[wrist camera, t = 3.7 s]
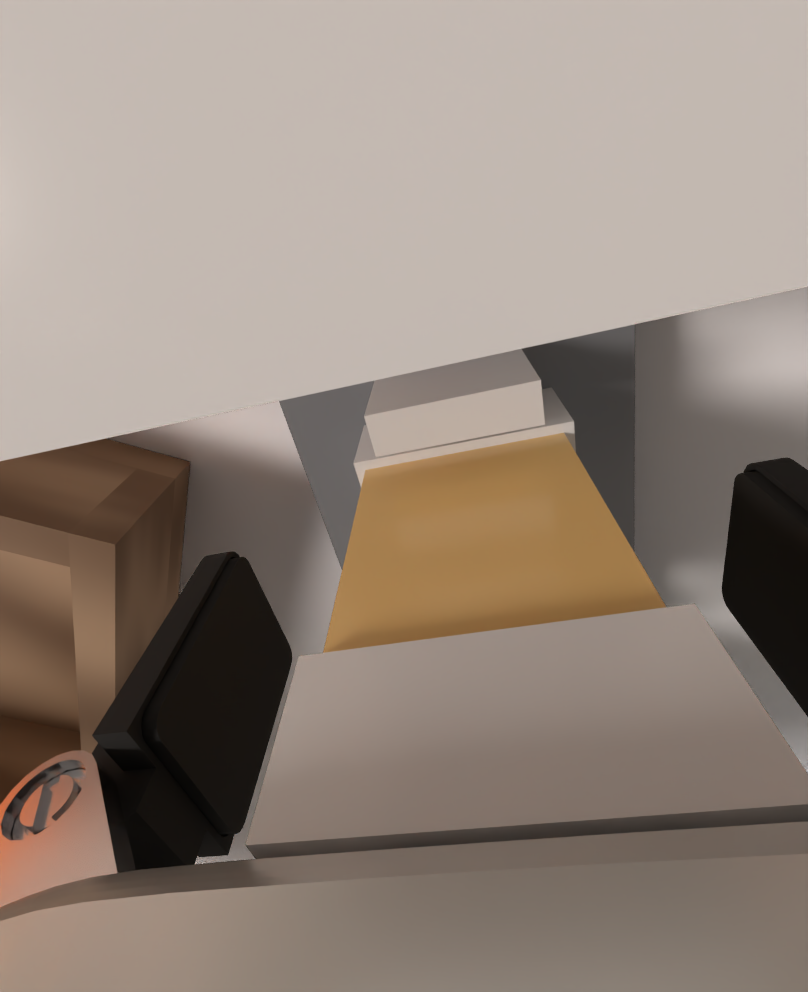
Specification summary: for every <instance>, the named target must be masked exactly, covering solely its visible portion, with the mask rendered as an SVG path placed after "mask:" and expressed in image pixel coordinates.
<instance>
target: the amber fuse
mask: <svg viewBox="0 0 808 992" xmlns="http://www.w3.org/2000/svg"><path fill="white" fill-rule="evenodd" d="M542 397H543V408H544V418H545V425H541V426H536V427H530V428H525V429H520V430H515V431H510V432H504V433H499V434H494V435H489V436H483V437H478V438H473V439H468V440H463V441H457V442H452V443H447V444H442V445H437V446H431V447H426V448H421V449H416V450H410V451H405V452H400V453H395V454H390V455H384V456H379V457H376V456H375V452H374V449H373V445H372V442H371V439H370V435H369V432H368V428H367V425H364V428H363V431H362V435H361V438H360V442H359V445H358V449H357V452H356V456H355V459H354V463H353V464H354V467H355V470H356V473H357V476H358V479H359V483H360V486H361V491H360V495H359V500H358V504H357V508H356V513H355V517H354V521H353V526H352V530H351V534H350V539H349V543H348V547H347V552H346V556H345V560H344V565H343V569H342V573H341V578H340V582H339V586H338V591H337V595H336V599H335V603H334V608H333V612H332V616H331V621H330V625H329V629H328V634H327V638H326V642H325V647H324V651H323V653H318V654H311V655H303V656H299V657H298V661H297V664H296V668H295V672H294V675H293V679H292V682H291V686H290V689H289V693H288V696H287V700H286V703H285V707H284V710H283V714H282V717H281V721H280V725H279V728H278V732H277V735H276V739H275V742H274V746H273V749H272V753H271V756H270V760H269V763H268V767H267V770H266V774H265V778H264V781H263V785H262V788H261V792H260V795H259V799H258V802H257V806H256V809H255V813H254V816H253V820H252V824H251V827H250V831H249V834H248V838H247V841H246V847H247V848H248V849H249V851H250V852H251V853H252V855H253V856H254V857H255V858H256V859H264V858H278V857H291V856H305V855H318V854H332V853H345V852H359V851H372V850H386V849H399V848H413V847H428V846H442V845H457V844H471V843H486V842H500V841H514V840H529V839H544V838H559V837H573V836H588V835H603V834H618V833H633V832H649V831H664V830H680V829H696V828H712V827H727V826H743V825H759V824H775V823H791V822H806V821H808V774H807V772H806V771H805V769H804V768H803V766H802V765H801V763H800V762H799V760H798V759H797V757H796V756H795V754H794V752H793V751H792V749H791V748H790V746H789V745H788V743H787V742H786V740H785V739H784V737H783V736H782V734H781V733H780V731H779V730H778V728H777V727H776V725H775V724H774V722H773V721H772V719H771V718H770V716H769V715H768V713H767V712H766V710H765V709H764V707H763V706H762V704H761V703H760V701H759V700H758V698H757V697H756V695H755V694H754V692H753V691H752V689H751V688H750V686H749V685H748V683H747V682H746V680H745V679H744V677H743V676H742V674H741V673H740V671H739V669H738V668H737V666H736V665H735V663H734V662H733V660H732V659H731V657H730V656H729V654H728V653H727V651H726V650H725V648H724V647H723V645H722V644H721V642H720V641H719V639H718V638H717V636H716V635H715V633H714V632H713V630H712V629H711V627H710V626H709V624H708V623H707V621H706V620H705V618H704V617H703V615H702V614H701V612H700V611H699V609H698V608H697V606H696V605H695V604H687V605H680V606H672V607H666V606H665V604H664V602H663V601H662V599H661V597H660V595H659V594H658V592H657V590H656V589H655V587H654V585H653V583H652V582H651V580H650V578H649V577H648V575H647V573H646V572H645V570H644V568H643V566H642V565H641V563H640V561H639V560H638V558H637V556H636V555H635V553H634V551H633V549H632V548H631V546H630V544H629V543H628V541H627V539H626V537H625V536H624V534H623V532H622V531H621V529H620V527H619V526H618V524H617V522H616V520H615V519H614V517H613V515H612V514H611V512H610V510H609V509H608V507H607V505H606V503H605V502H604V500H603V498H602V497H601V495H600V493H599V491H598V490H597V488H596V486H595V485H594V483H593V481H592V480H591V478H590V476H589V474H588V473H587V471H586V469H585V468H584V466H583V464H582V462H581V461H580V459H579V457H578V456H577V454H576V446H575V430H574V420H573V419H572V417H571V416H570V414H569V413H568V411H567V410H566V408H565V407H564V405H563V404H562V402H561V401H560V399H559V398H558V396H557V395H556V393H555V392H554V390H553V389H552V387H550V388H546V389H542Z"/></svg>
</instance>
